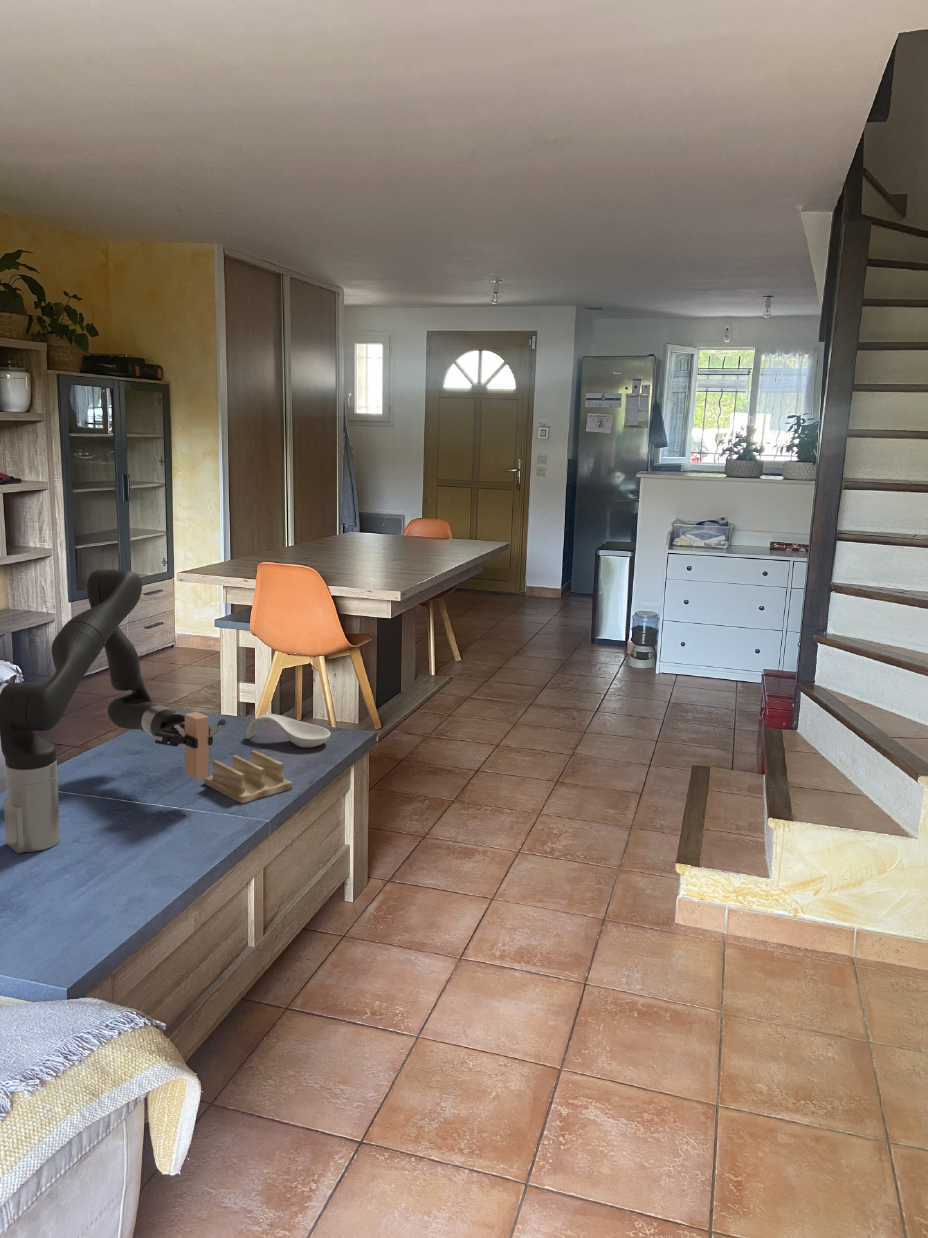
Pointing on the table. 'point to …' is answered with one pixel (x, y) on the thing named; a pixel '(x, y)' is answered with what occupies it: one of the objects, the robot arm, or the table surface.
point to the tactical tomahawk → (217, 726)
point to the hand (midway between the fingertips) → (203, 742)
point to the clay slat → (199, 756)
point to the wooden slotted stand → (248, 777)
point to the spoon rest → (294, 730)
